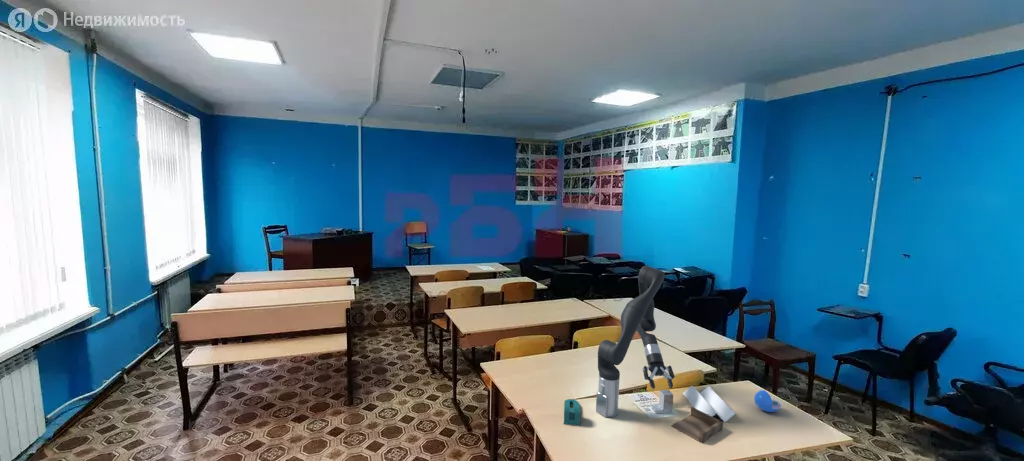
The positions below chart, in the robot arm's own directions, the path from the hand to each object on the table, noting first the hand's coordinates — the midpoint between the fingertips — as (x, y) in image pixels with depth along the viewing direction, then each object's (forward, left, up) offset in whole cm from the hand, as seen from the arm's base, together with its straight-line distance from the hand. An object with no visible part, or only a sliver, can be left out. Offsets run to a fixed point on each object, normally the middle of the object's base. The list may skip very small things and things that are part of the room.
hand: (662, 388), depth 191 cm
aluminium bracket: (-4, -3, -9) cm, 10 cm away
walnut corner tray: (-3, -20, -9) cm, 22 cm away
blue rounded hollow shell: (+40, -30, -9) cm, 51 cm away
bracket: (-41, +18, -9) cm, 46 cm away
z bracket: (+18, -12, -9) cm, 24 cm away
